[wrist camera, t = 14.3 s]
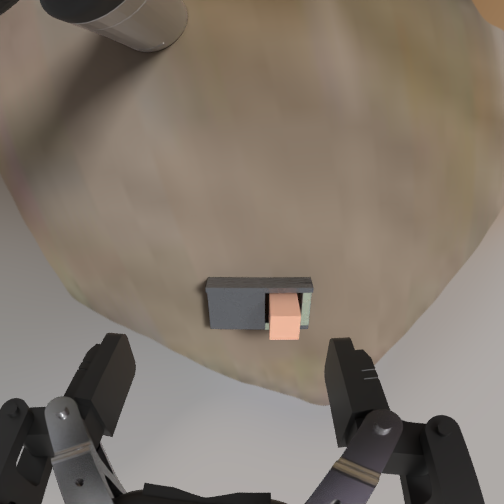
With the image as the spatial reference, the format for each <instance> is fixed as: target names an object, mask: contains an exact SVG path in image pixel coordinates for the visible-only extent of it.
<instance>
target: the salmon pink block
mask: <svg viewBox="0 0 504 504" xmlns="http://www.w3.org/2000/svg"><path fill="white" fill-rule="evenodd" d="M300 322H301V313H300V307H299V302H298V297H297V293H269V338H270V340H299V331H300Z"/></svg>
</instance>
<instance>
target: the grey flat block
mask: <svg viewBox="0 0 504 504" xmlns="http://www.w3.org/2000/svg"><path fill="white" fill-rule="evenodd" d="M205 289H206V293H207V296H208V306H209V317H210V327H211V329H265V330H269V315H265V293H301V295H300V313H301V322H300V329H308V324H309V314H310V305H311V295H312V293H313V284H312V281H311V277H293V278H234V277H208V280H207V284H206V287H205Z"/></svg>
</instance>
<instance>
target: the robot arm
mask: <svg viewBox="0 0 504 504" xmlns="http://www.w3.org/2000/svg"><path fill="white" fill-rule="evenodd" d="M18 1H19V0H0V15H1V14H3V13H4V12H6V11H7V10H8V9H9V8H11V7H12V6H13V5H14V4H16V3H17V2H18ZM40 3H41V5H42V7H43V9H44V10H45V11H46V12H47V13H48V14H49V15H51V16H52V17H54V18H57V19H59V20H62V21H65V22H68V23H71V24H73V25H76V26H79V27H82V28H84V29H87V30H90V31H92V32H95V33H97V34H100V35H102V36H105V37H107V38H110V39H112V40H114V41H117V42H119V43H121V44H124V45H126V46H128V47H130V48H132V49H135V50H138V51H141V52H154V51H158V50H161V49H164V48H166V47H168V46H169V45H171V44H172V43H174V42H175V41H176V40H177V39H178V38H179V37H180V35H181V34H182V33H183V31H184V29H185V27H186V24H187V20H188V13H187V9H186V6H185V4H184V3H183V1H182V0H40ZM135 370H136V365H135V360H134V357H133V354H132V351H131V347H130V344H129V341H128V338H127V336H126V335H125V334H117V333H116V334H115V333H107V334H106V336H105V338H104V339H103V341H102V343H101V344H96V345H95V346H94V347H92V348H91V349H90V350H89V351H88V352H87V354H86V356H85V357H84V359H83V362H82V363H81V365H80V366H79V370H77V372H76V374H75V376H74V377H73V379H72V381H71V383H70V385H69V387H68V389H67V391H66V393H65V395H64V396H63V397H57V398H55V399H53V400H51V401H50V402H49V403H48V405H47V406H46V407H33V408H29V407H28V405H27V404H26V403H25V401H24V400H22V399H19V398H14V399H10V400H8V401H7V402H6V403H4V404H3V406H2V407H1V409H0V504H41V503H42V499H43V496H44V492H45V489H46V486H47V483H48V479H49V476H50V473H51V470H52V467H53V470H54V473H55V476H56V479H57V482H58V485H59V488H60V491H61V494H62V497H63V500H64V502H65V504H286V503H284V502H280V501H277V500H272V499H271V493H234V494H228V495H222V496H216V497H209V498H205V497H200V496H197V495H194V494H191V493H188V492H185V491H182V490H180V489H177V488H174V487H167V486H161V485H154V484H148V483H145V484H144V488H143V490H136V491H131V492H128V493H127V492H126V491H125V489H124V488H123V486H122V484H121V483H120V481H119V480H118V478H117V476H116V474H115V472H114V470H113V468H112V465H111V463H110V461H109V459H108V457H107V454H106V452H105V450H104V448H103V445H102V443H101V442H100V441H101V438H102V435H106V436H110V437H113V434H114V431H115V428H116V425H117V422H118V419H119V416H120V414H121V411H122V408H123V405H124V402H125V400H126V397H127V394H128V392H129V389H130V386H131V384H132V381H133V378H134V375H135ZM325 383H326V388H327V392H328V397H329V402H330V407H331V413H332V418H333V423H334V428H335V434H336V439H337V444H338V447H347V448H346V450H345V451H344V453H343V454H342V456H341V457H340V459H339V460H338V461H336V462H335V464H334V465H333V466H332V468H331V469H330V470H329V472H328V473H327V475H326V476H325V477H324V479H323V480H322V481H321V483H320V484H319V486H318V487H317V488H316V490H315V491H314V492H313V494H312V495H311V496H310V497H309V499H308V500H307V501H306V503H305V504H366V503H367V501H368V499H369V498H370V496H371V494H372V492H373V491H374V489H375V487H376V486H377V484H378V482H379V477H380V475H381V473H386V474H398V475H400V480H401V485H402V490H403V495H404V501H405V504H485V503H484V499H483V496H482V493H481V489H480V486H479V483H478V479H477V476H476V473H475V470H474V467H473V464H472V461H471V458H470V455H469V452H468V449H467V446H466V444H465V441H464V438H463V435H462V433H461V430H460V427H459V425H458V424H457V423H456V421H455V420H453V419H452V418H450V417H448V416H444V415H438V416H435V417H433V418H431V419H430V420H429V421H428V422H427V424H423V423H412V422H406V421H403V420H401V418H400V417H399V416H398V415H397V414H396V413H394V412H392V411H391V410H390V408H389V406H388V403H387V400H386V397H385V394H384V392H383V389H382V386H381V383H380V380H379V379H378V375H377V373H376V370H375V367H374V364H373V362H372V359H371V357H370V356H369V355H368V354H367V353H366V352H365V351H364V350H355V349H354V346H353V344H352V341H351V339H350V338H349V337H348V338H331V339H330V342H329V347H328V353H327V358H326V363H325ZM22 446H24V449H23V452H22V454H21V457H20V459H19V462H18V465H17V467H16V462H17V459H18V456H19V454H20V451H21V449H22Z"/></svg>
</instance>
